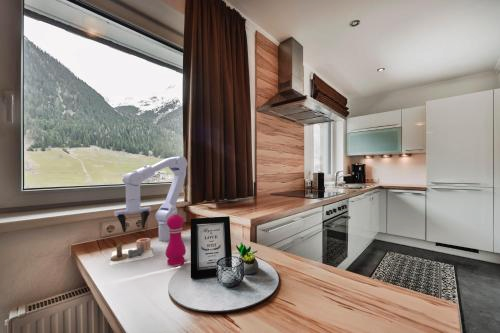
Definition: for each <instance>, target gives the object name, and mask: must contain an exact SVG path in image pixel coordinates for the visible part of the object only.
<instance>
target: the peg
mask: <svg viewBox="0 0 500 333" xmlns="http://www.w3.org/2000/svg"><path fill="white" fill-rule="evenodd" d="M122 250H123V245H122V244H117V245H116V251H117V255H115V256H112V255H111V256H112V257H110V260H111V261H120V260H124V259H126V258H127V257H128V254H122Z"/></svg>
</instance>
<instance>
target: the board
mask: <svg viewBox="0 0 500 333" xmlns="http://www.w3.org/2000/svg"><path fill="white" fill-rule="evenodd" d="M150 247H151V248H150V249H149V250H146V251H144V253H142V255H141V256H136V257H132V258H128V257H127V258H126V259H124V260H120V261H111V259H110V261H109V266H113V265H117V264H125V263H129V262H134V261H140V260H144V259H148V258H154V254H153V250H152V246H151V245H150ZM136 249H137V247H132V248H127V249H126V248H125V249H122V254H128V250H136ZM115 255H117V250H114V251H112V252H111V257H112V256H115ZM111 257H110V258H111Z"/></svg>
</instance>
